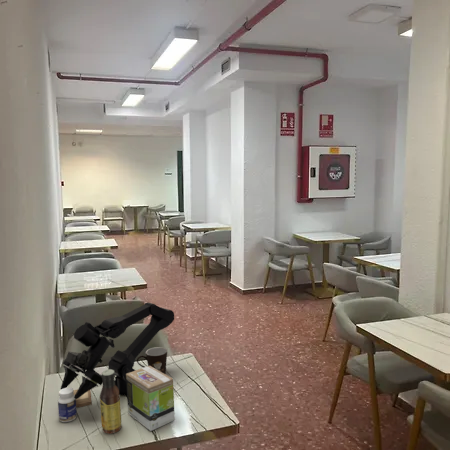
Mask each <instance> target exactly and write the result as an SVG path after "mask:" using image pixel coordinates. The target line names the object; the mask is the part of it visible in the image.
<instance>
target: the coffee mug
mask: <svg viewBox="0 0 450 450" xmlns="http://www.w3.org/2000/svg"><path fill="white" fill-rule="evenodd" d="M141 358H144V359H145V361H146V362H147V366H151V367H153V368H155V369H157V370H159V371H160V372H162V373H164V374H166V372H167V361H168V360H167V359H168V349H167V348H166V347H161V346H160V347H159V346H158V347H157V346H156V347H151V348H149V349H147V350H146V351H145V355H140V356H137V357H136V363H137V364H138V366H140V367H141V368H144V367H146V366H145V365H143V364H141V363H140V362H139V360H140V359H141ZM166 375H167V374H166Z"/></svg>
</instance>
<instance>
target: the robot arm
mask: <svg viewBox="0 0 450 450" xmlns="http://www.w3.org/2000/svg"><path fill="white" fill-rule="evenodd" d="M149 316H151V317H150V321H149V323H148V324H147V325H146V327H144V329H143V330H142V331H141V332H140V334H139V335H138V336H137V337H136V338H135V339H134V340H133V341H132V342H131V343H130V344H129V346H128V347H127V348H126V349H125V350H123V351H122V350H117V351H116V352H115V353H114V355H112V356H111V357H110V360H109V362H108V363H107V364H108V367H107V368H108V370H109V369H111V370H114V371H115V377H114V379H115V385H116V386H117V388H118V389H119V396H126V397H127V384H126V374H127V373H130V372H133V371H136V370H137V369H134V366H135V361H136V359H137V358H138V357H139V355H140V354H141V353H142V352H143V350H145V348H146V347H147V346H148V344H149V343H150V342H151V341H152V340H153V339H154V337H156V335H157V334H158V333H159V332H160V331H161V330H164V329H166V328H168V327H169V326H170V325H171V324H172V323H174V321H175V312H174V311H173V310H171V309H168V308H165V307H160V306H158V305H157V304H156V303H152V302H145V303H144V304H143V305H141V306H138V307H136V308H135V309H133V310H131V311H129V312H127V313H125V314H123V315H121V316H115V317H110V318H106V319H105V320H103V321H102V322H101V323H100V324H98V325H96V326H94V325H92V324H91V323H90V322H88V321H86V322H85V323H84V324H82V325H80V326H79V327H77V328H76V330H75V331H74V333H73V338H74V339H75V340H76V341H77V342H79V343H81V344H82V345H83V346H85V347H87V349H86V350H85V349H84V350H82V351H81V352H76V351H68V352H67V355H66V357H65V359H64V361H63V362H62V364H63V369H64V376H63V380H62V382H61V386H60V390H61V389H64V388H68V387H69V386H70V384H71V383H72V382H73V381H74V380H76V379H77V377H78V376H79V373H81V374H83V375H84V376H83V375H82V376H81V377H82V378H81V379H82V380H81V384H80V386H79V387H78V388H77V389H78V390H77V389H76V390H77V392H76V394H75V396H74V398H75V399H78V398H79V397H80V396H82V395H83V394H85V393H86V392H88V391H89V390H91V391H92V390H93V389H94V388H96V387H99V386H103V380H102V374H100V373H98V372H97V371H96V370H95V369H96V368H97V366H98V364H102V362H103V360H102V358H103V357H104V355H105V353H106V352H107V350H108V348H109V347H110V348H112V349H113V348H115V347H116V346H115V343H114V342H115V341H114V339H117V338H119V337H120V336H121V335H122V334H124V333H125V331H126V330H127V328H129V327H131V326H133V325H134V324H136V323H139V322H140V321H142V320H144V319H145V318H148V317H149Z"/></svg>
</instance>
